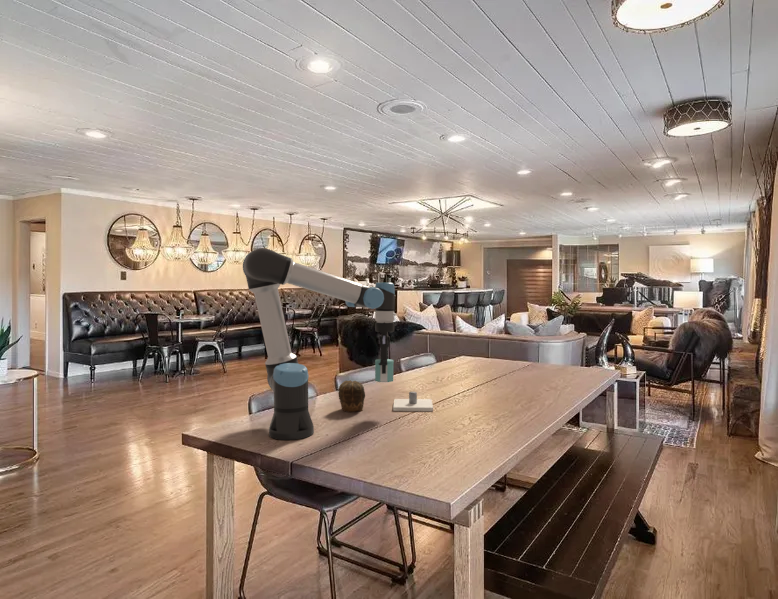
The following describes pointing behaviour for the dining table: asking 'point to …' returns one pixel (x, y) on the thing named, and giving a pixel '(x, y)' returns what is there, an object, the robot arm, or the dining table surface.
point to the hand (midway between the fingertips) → (384, 379)
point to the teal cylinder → (389, 370)
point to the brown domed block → (351, 396)
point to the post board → (413, 404)
